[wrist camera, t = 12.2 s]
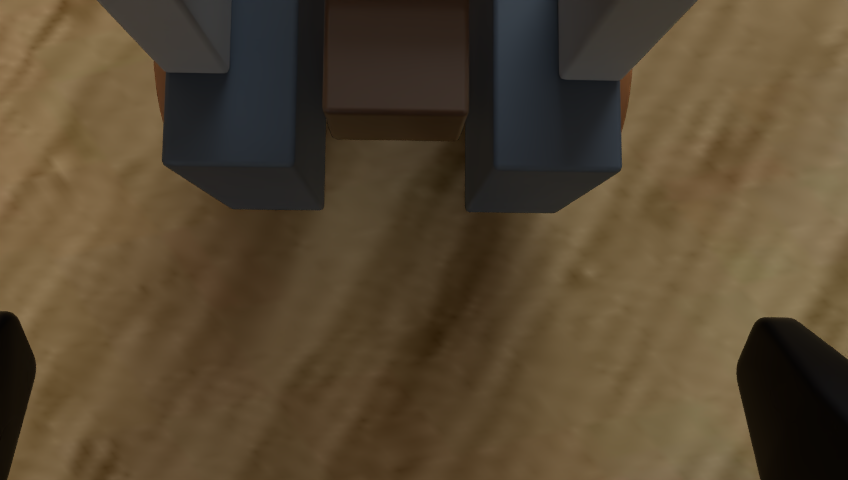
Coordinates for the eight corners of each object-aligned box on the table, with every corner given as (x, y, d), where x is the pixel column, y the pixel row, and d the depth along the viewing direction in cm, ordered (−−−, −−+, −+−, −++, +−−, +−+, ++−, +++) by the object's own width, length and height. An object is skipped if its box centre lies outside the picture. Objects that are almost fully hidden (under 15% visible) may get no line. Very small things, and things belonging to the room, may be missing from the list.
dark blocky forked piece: (575, 214, 16) (839, 65, 7) (211, 209, 16) (-74, 47, 6) (573, 0, 17) (815, -433, 7) (218, -9, 17) (-36, -471, 7)
